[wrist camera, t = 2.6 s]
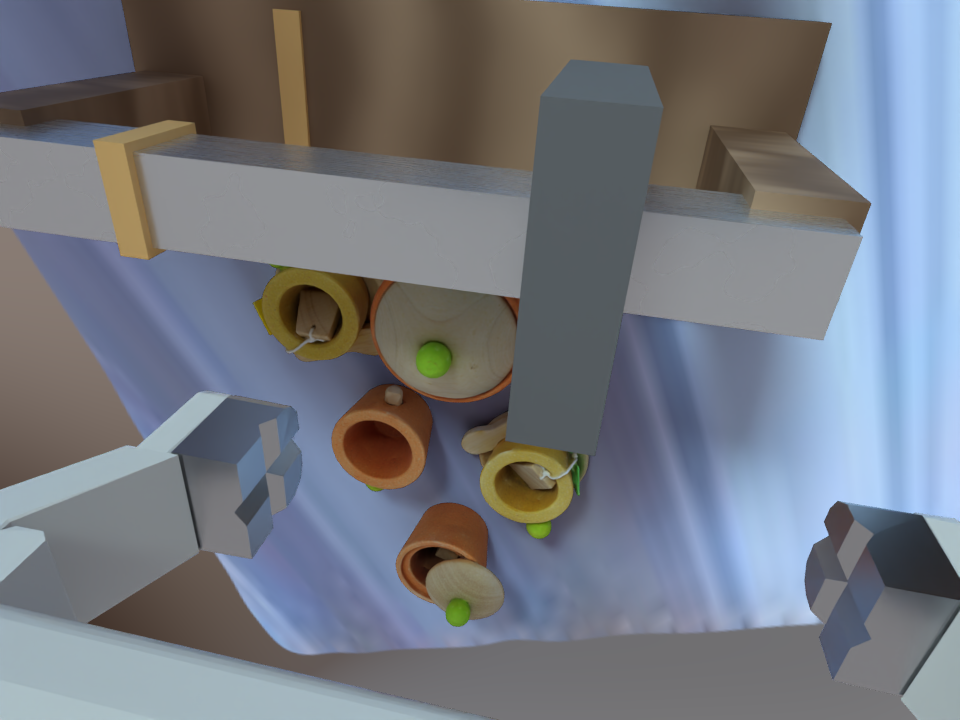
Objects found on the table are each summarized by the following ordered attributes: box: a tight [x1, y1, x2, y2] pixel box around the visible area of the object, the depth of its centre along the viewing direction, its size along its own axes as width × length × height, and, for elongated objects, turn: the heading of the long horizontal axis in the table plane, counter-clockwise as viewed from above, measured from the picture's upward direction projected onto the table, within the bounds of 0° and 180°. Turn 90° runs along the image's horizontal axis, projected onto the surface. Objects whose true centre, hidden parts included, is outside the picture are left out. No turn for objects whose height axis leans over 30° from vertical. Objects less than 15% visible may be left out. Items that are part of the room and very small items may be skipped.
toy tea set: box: [253, 264, 589, 627], centre depth 34 cm, size 26×16×10 cm, turn 20°
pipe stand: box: [0, 0, 871, 340], centre depth 24 cm, size 30×12×14 cm, turn 86°
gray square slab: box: [505, 59, 663, 456], centre depth 19 cm, size 2×9×9 cm, turn 176°
